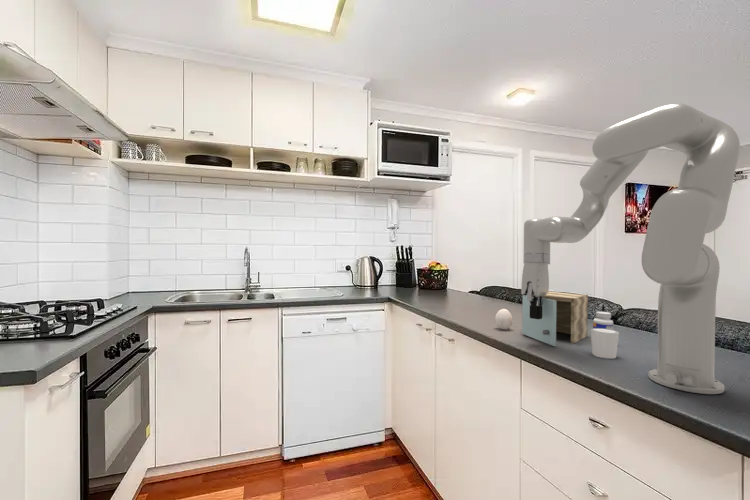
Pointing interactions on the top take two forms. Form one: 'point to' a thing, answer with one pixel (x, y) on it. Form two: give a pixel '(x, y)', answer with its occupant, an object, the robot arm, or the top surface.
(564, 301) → the cabinet
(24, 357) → the top surface
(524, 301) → the door
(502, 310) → the egg
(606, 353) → the white cup
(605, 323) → the pill bottle
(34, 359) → the top surface
